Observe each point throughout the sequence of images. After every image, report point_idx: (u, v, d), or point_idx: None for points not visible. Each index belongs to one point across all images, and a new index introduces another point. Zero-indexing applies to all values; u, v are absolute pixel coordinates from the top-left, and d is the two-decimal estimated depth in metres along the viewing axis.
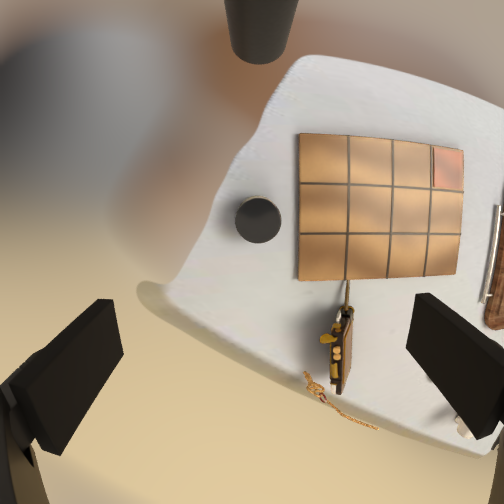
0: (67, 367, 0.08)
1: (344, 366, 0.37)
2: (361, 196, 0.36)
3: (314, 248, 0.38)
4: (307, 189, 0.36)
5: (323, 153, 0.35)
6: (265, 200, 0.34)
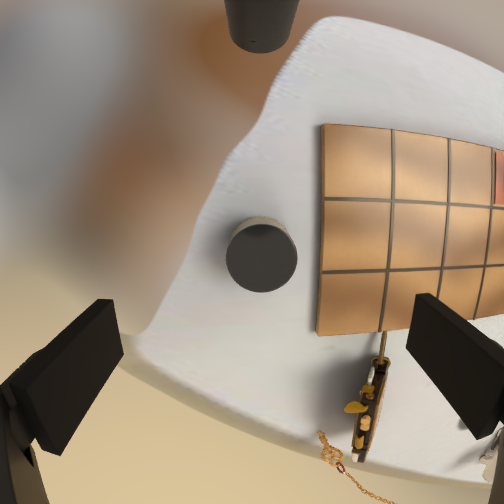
0: (67, 367, 0.08)
1: (372, 434, 0.25)
2: (408, 218, 0.24)
3: (341, 292, 0.26)
4: (335, 207, 0.24)
5: (358, 154, 0.23)
6: (273, 228, 0.22)
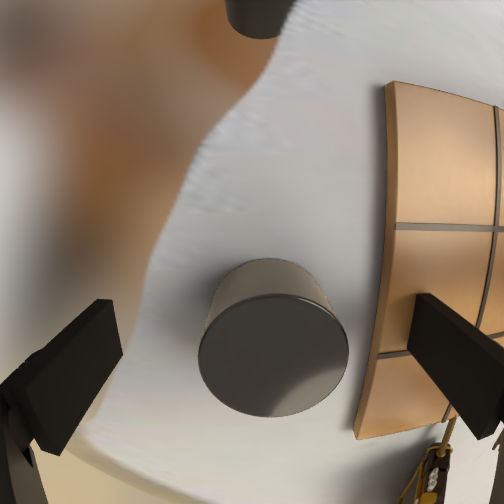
0: (66, 367, 0.08)
1: None
2: None
3: (403, 381, 0.14)
4: (411, 242, 0.12)
5: (451, 143, 0.11)
6: (302, 302, 0.09)
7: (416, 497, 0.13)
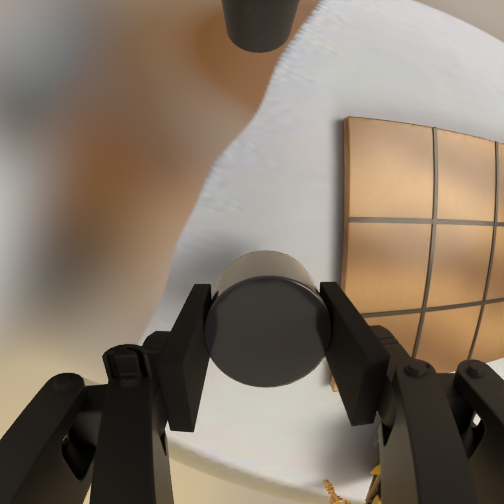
0: (196, 344, 0.10)
1: None
2: (451, 243, 0.18)
3: None
4: (362, 231, 0.17)
5: (393, 159, 0.17)
6: (292, 284, 0.11)
7: None
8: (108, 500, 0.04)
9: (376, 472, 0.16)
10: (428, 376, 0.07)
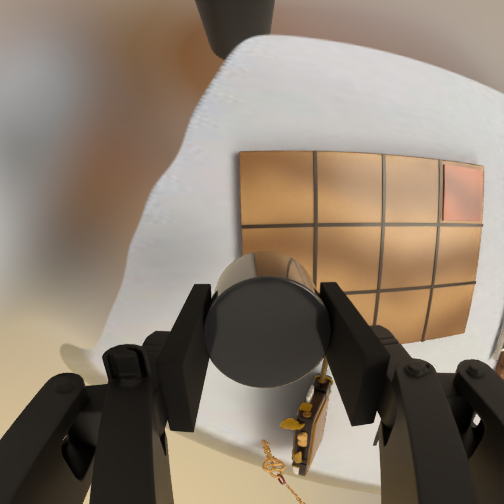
0: (196, 344, 0.10)
1: (311, 450, 0.26)
2: (334, 242, 0.25)
3: None
4: (253, 234, 0.25)
5: (276, 180, 0.24)
6: (291, 284, 0.11)
7: None
8: (108, 500, 0.04)
9: (284, 426, 0.24)
10: (428, 376, 0.07)
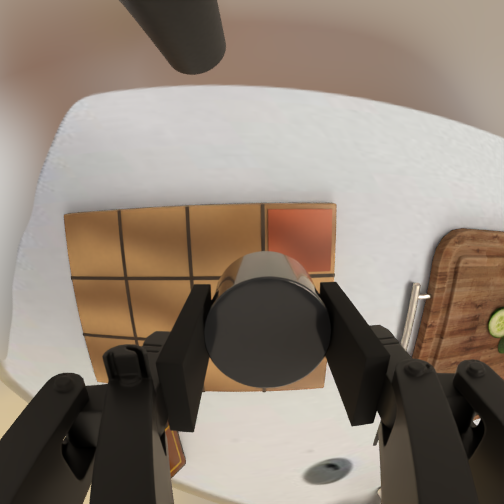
0: (196, 344, 0.10)
1: None
2: (144, 294, 0.26)
3: (102, 351, 0.28)
4: (80, 284, 0.26)
5: (90, 239, 0.25)
6: (292, 285, 0.11)
7: None
8: (108, 500, 0.04)
9: None
10: (428, 376, 0.07)
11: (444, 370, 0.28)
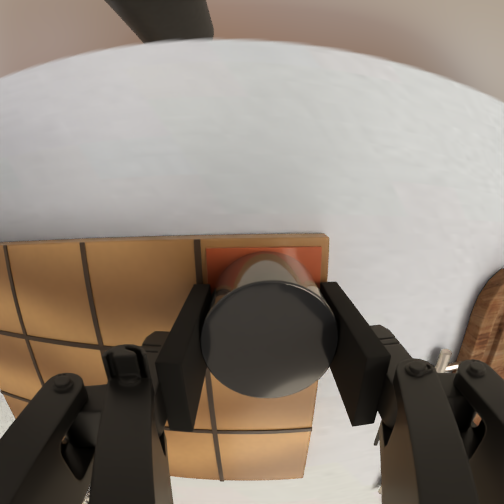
0: (196, 344, 0.10)
1: None
2: (50, 359, 0.16)
3: None
4: None
5: None
6: (297, 289, 0.10)
7: None
8: (107, 500, 0.04)
9: None
10: (429, 376, 0.07)
11: None
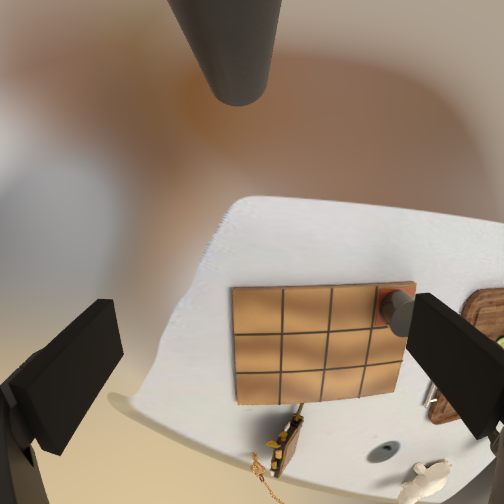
0: (67, 367, 0.08)
1: (284, 461, 0.39)
2: (294, 343, 0.39)
3: (249, 383, 0.40)
4: (241, 339, 0.39)
5: (256, 308, 0.38)
6: None
7: None
8: None
9: (268, 444, 0.37)
10: None
11: None
